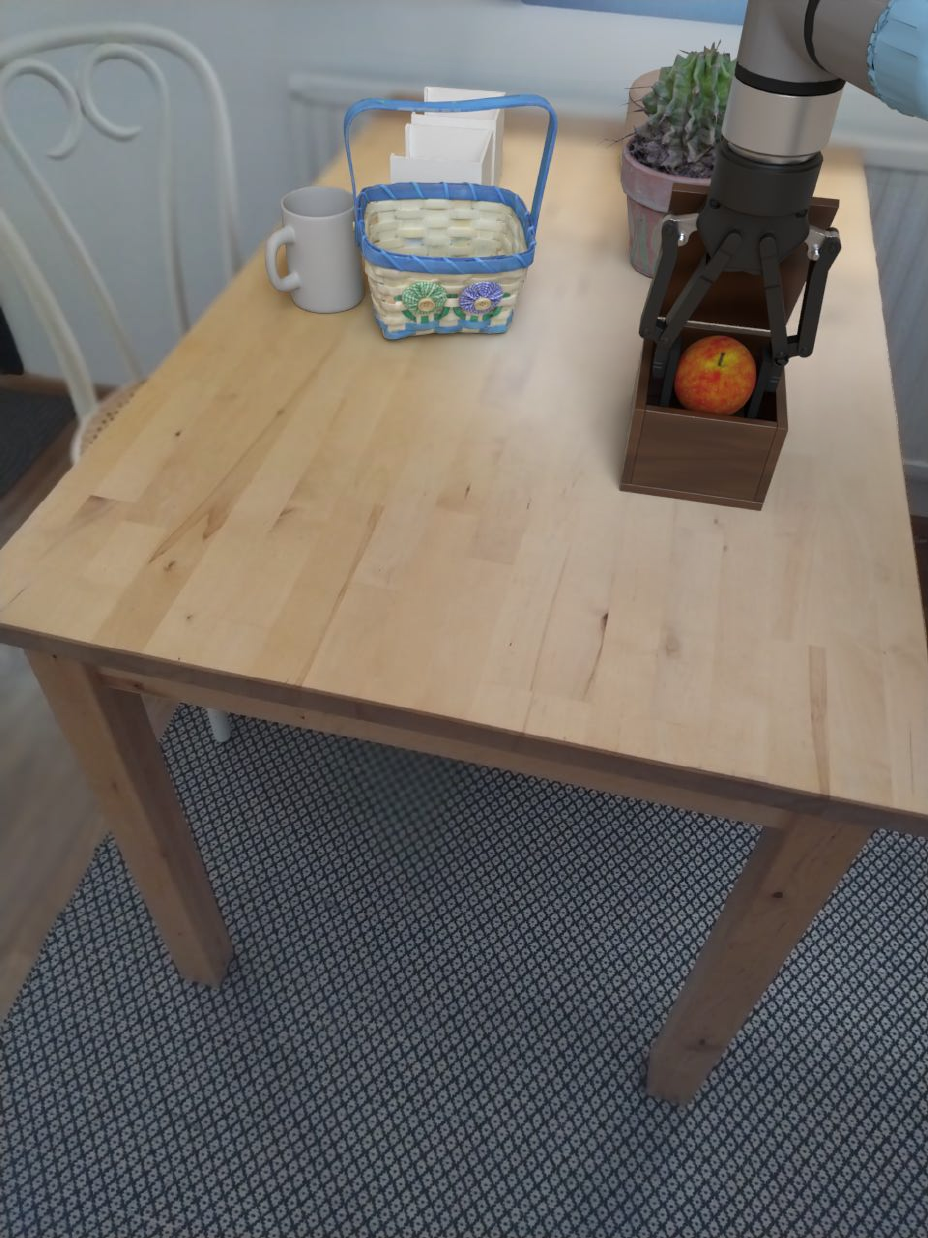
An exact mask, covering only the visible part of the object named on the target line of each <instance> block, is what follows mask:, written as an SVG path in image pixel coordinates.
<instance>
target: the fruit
mask: <svg viewBox="0 0 928 1238" xmlns="http://www.w3.org/2000/svg"><path fill="white" fill-rule="evenodd" d="M673 383H674V390H675V394H676V396H677V398H678V400H679V402H680V403H681V405H682V406H683V407H684V408H685V409H686V410H689V411H696V412H704V413H712V414H719V415H727V416H729V415H732V414H733V413H735V412H737V411H738V410H739V409H740V408H742V407H743V406H744V404H745V403H746V402H747V401H748V399H749V398H750V396H751V395H752V392H753V390H754V387H755V383H756V365H755V362H754V359H753V357H752V355H751V353H750V352H749V351H748V349H747V348H746V347H745V346H744V345H743V344H741V343H740V342H739V341H737V340H735V339H733V338H730V337H727V336H710V337H706V338H703V339H701V340H699V341H697V342H695V343H694V344H692V345H691V346H690V347H689V348H687V350H686V351H685V352H684V353H683V354H682V356H681V357H680V359H679V360H678V363H677V367H676V372H675V376H674V381H673Z"/></svg>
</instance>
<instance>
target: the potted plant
mask: <svg viewBox="0 0 928 1238" xmlns="http://www.w3.org/2000/svg"><path fill="white" fill-rule="evenodd" d="M721 43H722V40H721V38H720V39H719V41H718V44H717V46H716V41H713V42H712V44H711V47H710V48H707V47H706V45H703V51H699V52H698V51H697V50H695V51H693V50H692V51H690V52H689V51H686V50H680V49H679V51H680V52H682V53H683V54H687V56H685V57H683V56H682V55H681V54H678V53H677V54H676V56H675V57H674V61H673V64H672V66H671V65H670V66H661V67H660V69H661V70H660V75H659V81H658V82H656V83H654V85H653V86H649V87H651V88H652V89H653V90H652V91H650V92H649V93H647V94H646V95H644V96H643V97H642V99H640V100H636V101H633V102H638V101H642V103H643V105H644V106H645V107H644V108H642V109H639V110H636V111H633V112H642V111H644V113H645V114H647V115H648V119H647V121H646V122H645V124H643V125H641V126H638V127H636V128H635V126H634V129H635V131H634V132H632V133H631V134H629V135H627V136H625V137H624V136H623V137H621V138H619V139H618V140H612V139H610V141H612V142H613V143H611V144H610V145H609V146H608V147H610V146H612V145H613V144H615V143H618V142H620V141H623V139H624V138H626V137H629V136H631V135H634V134H635V136H633V137H632V138H630V140H629V141H628V142H627V143H626V145H625V147H624V148H623V150H622V149H621V152H622V155H621V154H620V155H619V156H618V158H621V156H622V163H621V165H620V166H621V168H620V185H621V187H622V191H623V193H624V194H625V197H626V207H627V222H628V223H627V224H628V238H629V251H630V264H631V265H632V267H633V269H634V270H635V271H636V272H638V273H640V274H641V275H643V276H645V277H647V278H651V279H652V278H653V275H654V272H655V268H656V265H657V262H658V257H659V252H660V246H661V241H662V236H661V230H662V222H663V216H664V214H665V213H666V212H667V211H668V206H669V201H670V196H671V191H672V185H673V183H684V184H694V185H703V186H710V182H711V177H712V173H713V168H714V163H715V159H716V154H717V149H718V145H719V143H720V135H721V130H722V125H723V120H724V116H725V111H726V106H727V102H728V97H729V92H730V88H731V83H732V78H733V74H734V71H735V66H736V62H737V57H735V58H734V59H732V60H731V53H730V52H725V51H723V53H720V51H718V50H719V49H718V48H719V46H720V45H721ZM637 88H647V87H637ZM630 89H634V88H631V87H628V88H625V90H630ZM633 102H630V103H633ZM628 104H629V103H628V102H627V103H623V104H621V105H619V107H620V106H623V105H624V106H625V105H628ZM628 113H629V112H628ZM620 114H623V112H621V113H620ZM604 141H608V139H607V138H605V139H604V140H602V141H600V142H599V143H597V146H598V145H599V144H601V143H603V142H604ZM608 147H606V149H608Z"/></svg>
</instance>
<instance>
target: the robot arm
mask: <svg viewBox="0 0 928 1238" xmlns="http://www.w3.org/2000/svg"><path fill="white" fill-rule="evenodd" d="M746 4H747V5H746V8H745V14H744V19H743V24H742V30H741V34H740V39H739V44H738V50H737V54H736V58H737V62H736V66H735V71H734V74H733V78H732V83H731V88H730V92H729V97H728V102H727V106H726V111H725V116H724V120H723V125H722V134H723V136H724V137H725V138H724V139H723V140H722V141H721V142H720V143H719V145H718V149H717V154H716V159H715V163H714V168H713V173H712V177H711V182H710V187H709V192H708V196H707V199H706V201H705V202H704V204H703V205H702V206H701V207H700V209H699V210H698V213H694V214H686V215H678V214H677V213H676V212H675V211H667V212H666V213H665V214H664V216H663V222H662V230H661V236H662V249H661V252H660V255H659V258H658V262H657V265H656V268H655V272H654V275H653V278H651V282H650V285H649V287H648V292H647V295H646V297H645V301H644V305H643V308H642V311H641V314H640V319H639V327H638V336H639V337H640V338H641V339H642V340H643V339H648V338H650V339H652V340H653V341H655V342H656V344H657V347H656V352H655V358H654V363H653V371H652V373H653V377H654V378H661V379H663V383H662V388H661V393H660V397H659V406H658V407H666V408H668V404H669V400H670V395H671V390H672V386H673V381H674V376H675V372H676V367H677V362H678V358H679V353H680V343H681V336H680V335H679V334H680V332H681V331H682V329H683V327H684V326H685V324H686V323H687V322H689V321H688V320H689V318H690V317H691V315H692V314H693V312H694V311H695V309H696V308H697V306H698V305H699V303H700V301H701V300H702V298H703V297H704V295H705V294H706V292H707V291H708V289H709V288H710V286H711V285H712V283H714V282H715V281H716V280H717V278H718V277H719V275H720V274H721V272H722V271H725V272H737V271H744V272H747V273H749V274H752V275H761V276H762V273H763V279H764V287H765V293H766V301H767V309H768V318H769V326H770V330H769V332H770V334H771V342H772V348H771V346H763V345H762V348H761V352H760V355H759V359H758V362H757V366H756V383H755V387H754V390H753V392H752V395H751V396H750V398H749V399H748V401H747V402H746V405H745V408H744V418H750V419H756V415H757V412H758V409H759V405H760V402H761V399H762V395H763V392H764V391H766V392H774V391H775V390H776V389H777V388H778V385H779V381H780V378H781V375H782V372H783V368H785V366H787V365H788V363H789V361H790V359H792V358H794V357H800V358H803V359H807V358H809V357H810V356H812V354H813V352H814V349H815V343H816V337H817V333H818V327H819V323H820V319H821V318H820V317H821V312H822V307H823V302H824V296H825V291H826V286H827V281H828V276H829V271H830V270H831V268H832V266H833V264H834V263H835V262H836V260H837V258H838V257H839V254H840V253H841V250H842V241H841V235H840V231H839V229H838V228H837V227H835V226H831V227H830V228H828V229H826V230H823V229H821V228H818V227H815V226H812V225H810V224H809V218H808V211H809V207H810V204H811V200H812V197H814V194H815V191H816V190H815V189H816V186H817V183H818V180H819V176H820V173H821V170H822V166H823V162H824V156H823V154H822V151H823V150H825V148H826V147H827V146H828V145H829V142H830V138H831V135H832V132H833V128H834V124H835V120H836V117H837V115H838V114H837V113H838V110H839V106H840V104H841V103H840V102H841V99H842V95H843V92H844V88H845V86H846V84H847V83H848V84H851V86H852V85H853V86H854V87H856V88H857V89H859V90H861V91H863V92H865V93H867V94H869V95H870V96H872V97H874V98H875V99H878V100H879V101H880V102H881V103H883V104H885V105H886V106H887V107H888V108H889V109H891V110H896V111H897V113H899V114H901V115H904V116H908V117H911V118H918V119H920V120H923V121H926V122H928V0H747V3H746ZM697 230H698V233H699V235H700V237H701V239H702V241H703V243H704V245H705V247H706V249H707V250H706V252H705V253H704V255H703V257H702V259H701V262H700V264H699V265H698V267H697V269H696V270H695V272H694V273H693V275H692V276H691V278H690V280H689V281H688V283H687V284H686V286H685V288H684V289H683V291H682V292H681V294H680V296H679V297H678V299H677V300H676V302H675V303H674V305H673V307H672V308H671V310H670V311H669V313H668V315H667V316H666V318H663V319H664V321H661V320H659V319H660V318H659V317H658V316H659V313H660V310H661V306H662V303H663V300H664V297H665V294H666V291H667V288H668V285H669V282H670V278H671V275H672V272H673V269H674V266H675V263H676V259H677V253H678V246H683V245H685V244H686V243H687V242H688V239H689V236H690V234H691V233H692V232H694V231H697ZM803 242H805V243H807V244H808V245H807V255H808V258H809V259H810V263H809V268H808V274H807V280H806V282H805V285H804V292H803V298H802V303H801V309H800V315H799V320H798V325H797V330H796V334H792V335H788V331H787V325H786V321H785V312H784V303H783V294H782V285H781V276H780V266H779V263H780V262H781V261H782V260H784V259H785V258H786V257H787V256H788V255H789V254H791V253H792V252H793V251H794V250H795V249H796V248H797V247H799V246H800V245H801V244H802V243H803Z"/></svg>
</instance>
